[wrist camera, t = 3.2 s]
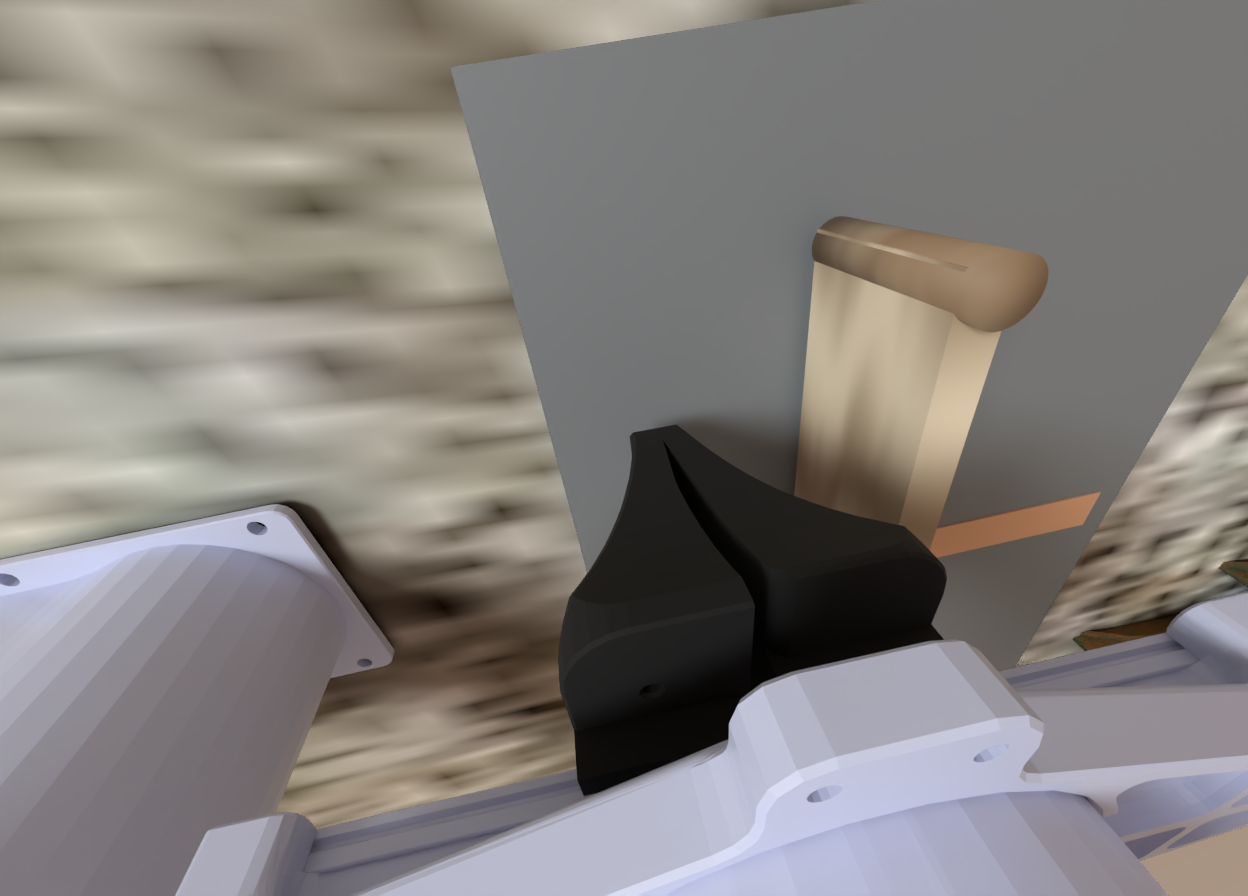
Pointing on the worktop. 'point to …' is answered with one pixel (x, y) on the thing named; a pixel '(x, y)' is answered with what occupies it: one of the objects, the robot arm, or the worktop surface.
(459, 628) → the worktop surface
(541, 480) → the worktop surface
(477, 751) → the worktop surface
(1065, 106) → the board
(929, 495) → the tan wooden plank
